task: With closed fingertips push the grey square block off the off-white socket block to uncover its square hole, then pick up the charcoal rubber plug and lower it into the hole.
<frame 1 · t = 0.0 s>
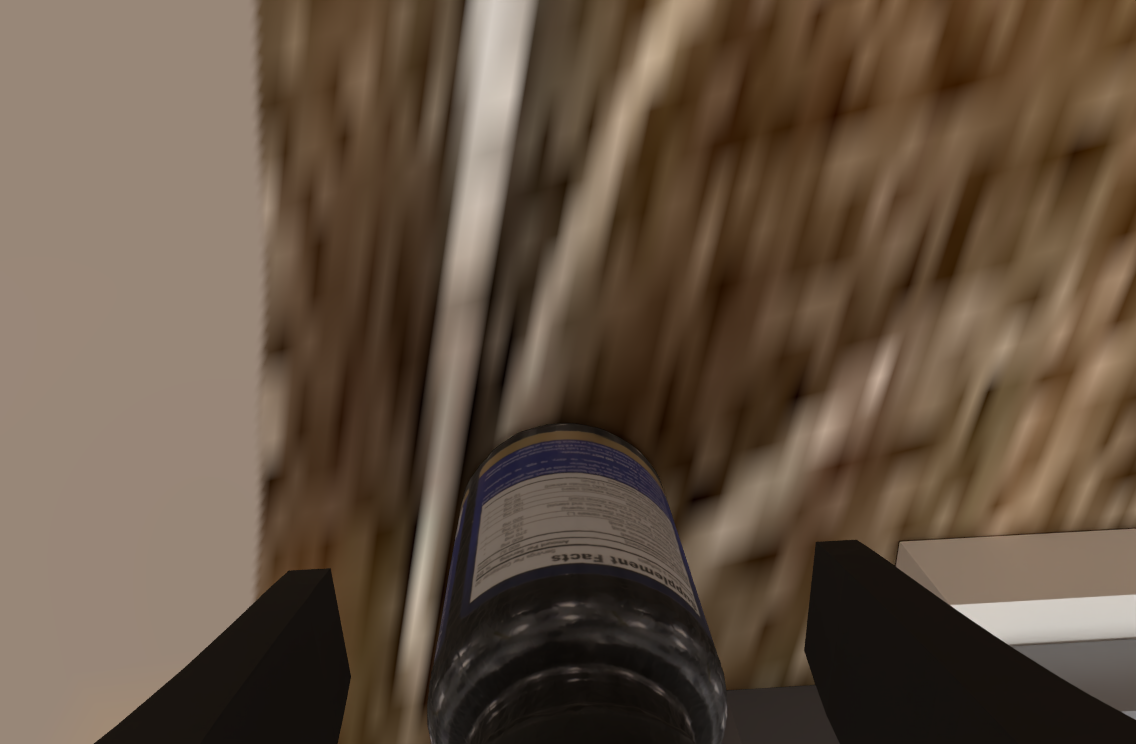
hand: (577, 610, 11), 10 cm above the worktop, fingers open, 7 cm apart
plug: (772, 725, 26), on the worktop
socket: (1013, 646, 25), on the worktop
pill bottle: (563, 503, 22), on the worktop
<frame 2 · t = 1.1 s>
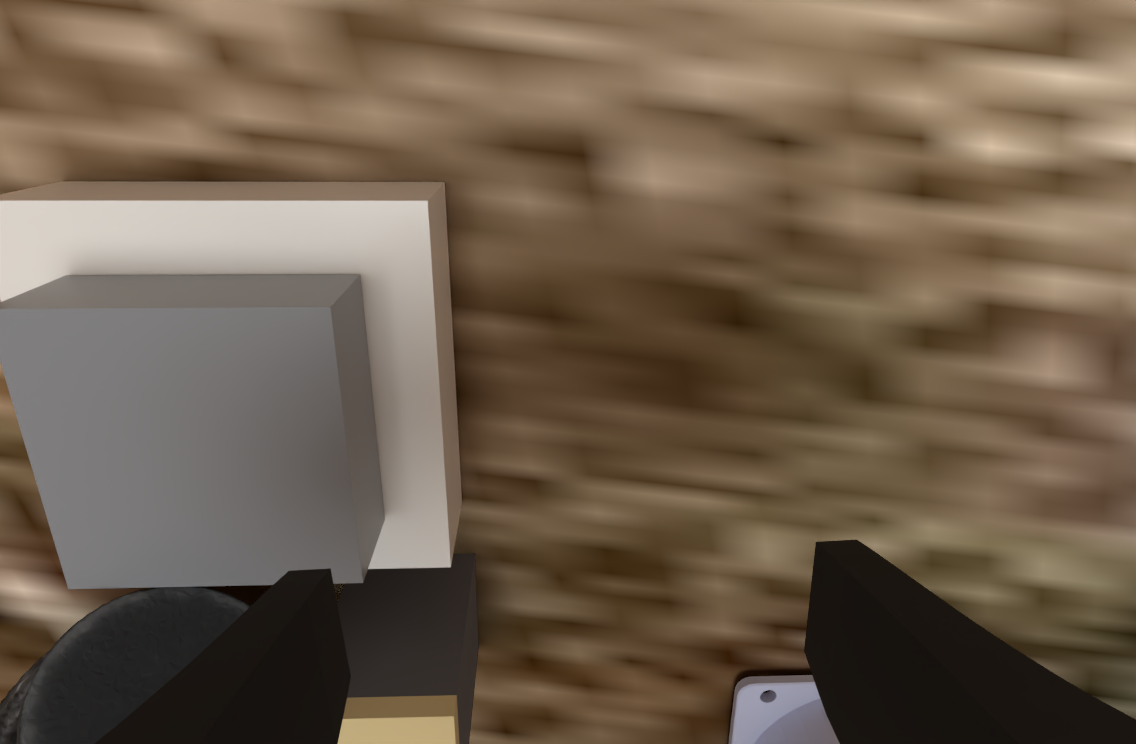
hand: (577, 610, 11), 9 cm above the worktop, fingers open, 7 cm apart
plug: (419, 602, 22), on the worktop
socket: (281, 357, 19), on the worktop
grey square block: (215, 430, 15), point 4 cm above the worktop, slide at 0.0 cm, touching pill bottle
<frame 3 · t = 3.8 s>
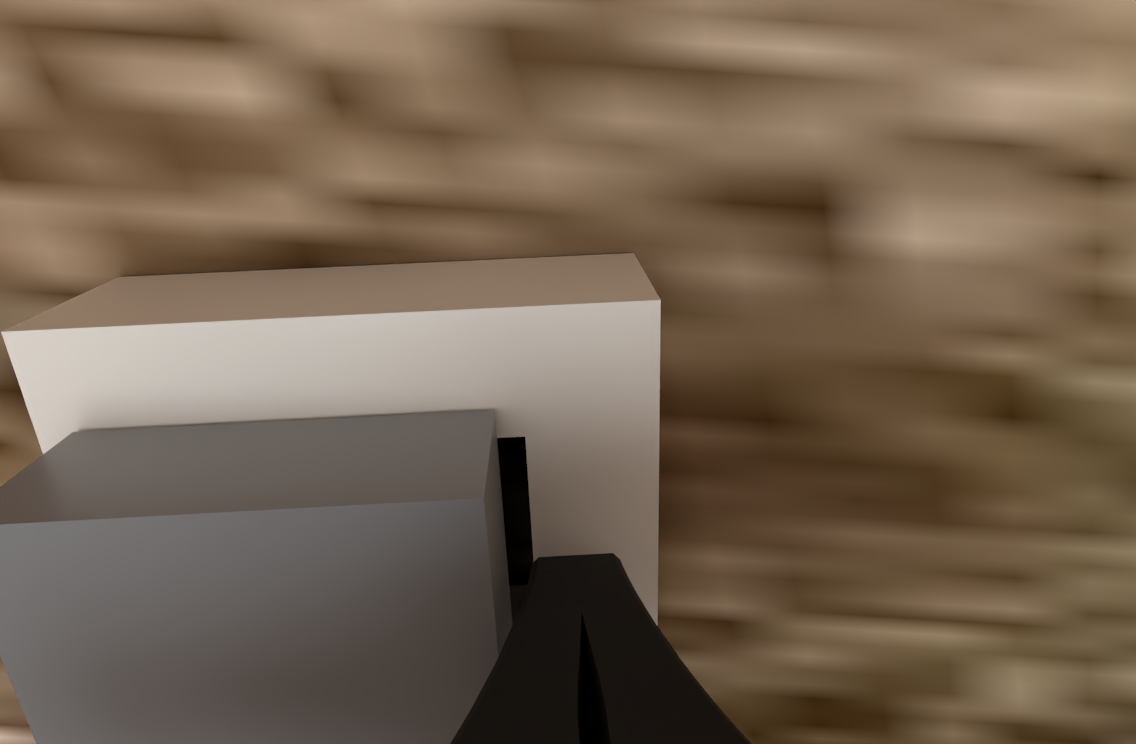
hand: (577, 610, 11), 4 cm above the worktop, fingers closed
socket: (408, 487, 14), on the worktop
grey square block: (296, 646, 10), point 4 cm above the worktop, slide at 0.9 cm, touching gripper
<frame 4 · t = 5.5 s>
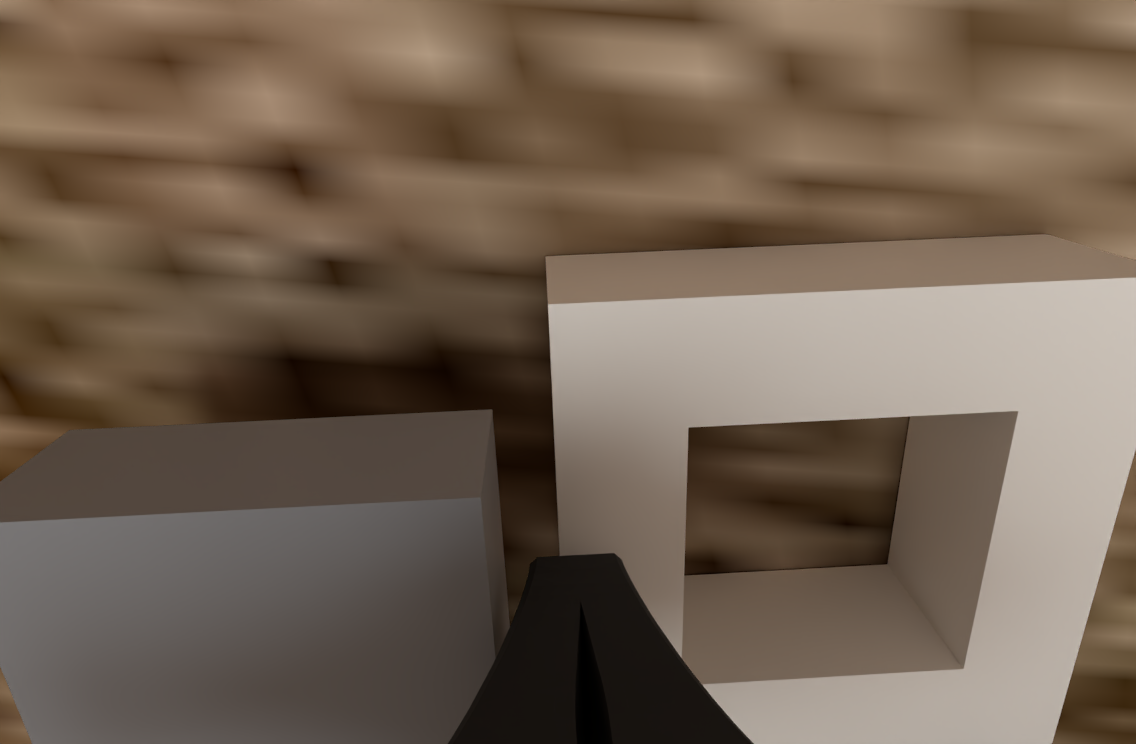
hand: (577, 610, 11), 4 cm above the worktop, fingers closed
socket: (780, 467, 15), on the worktop
grey square block: (293, 645, 10), point 4 cm above the worktop, slide at 8.4 cm, touching gripper, pill bottle
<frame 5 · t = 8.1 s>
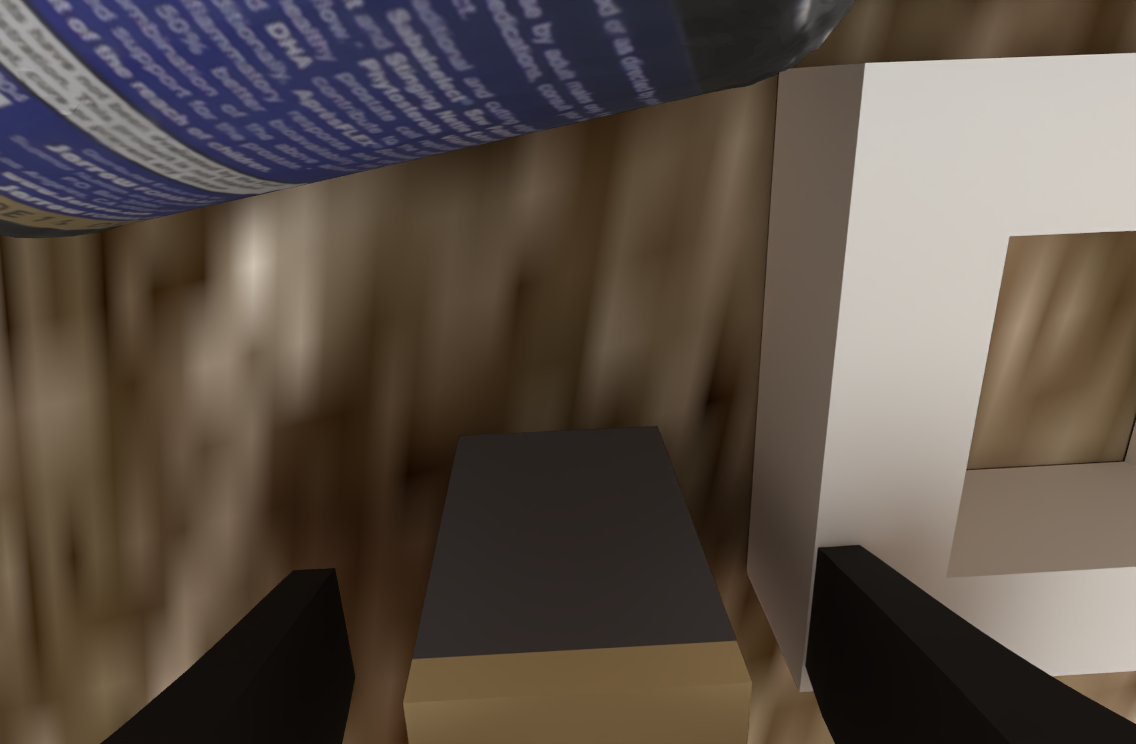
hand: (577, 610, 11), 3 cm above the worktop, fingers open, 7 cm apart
plug: (561, 515, 14), on the worktop
socket: (1018, 341, 13), on the worktop
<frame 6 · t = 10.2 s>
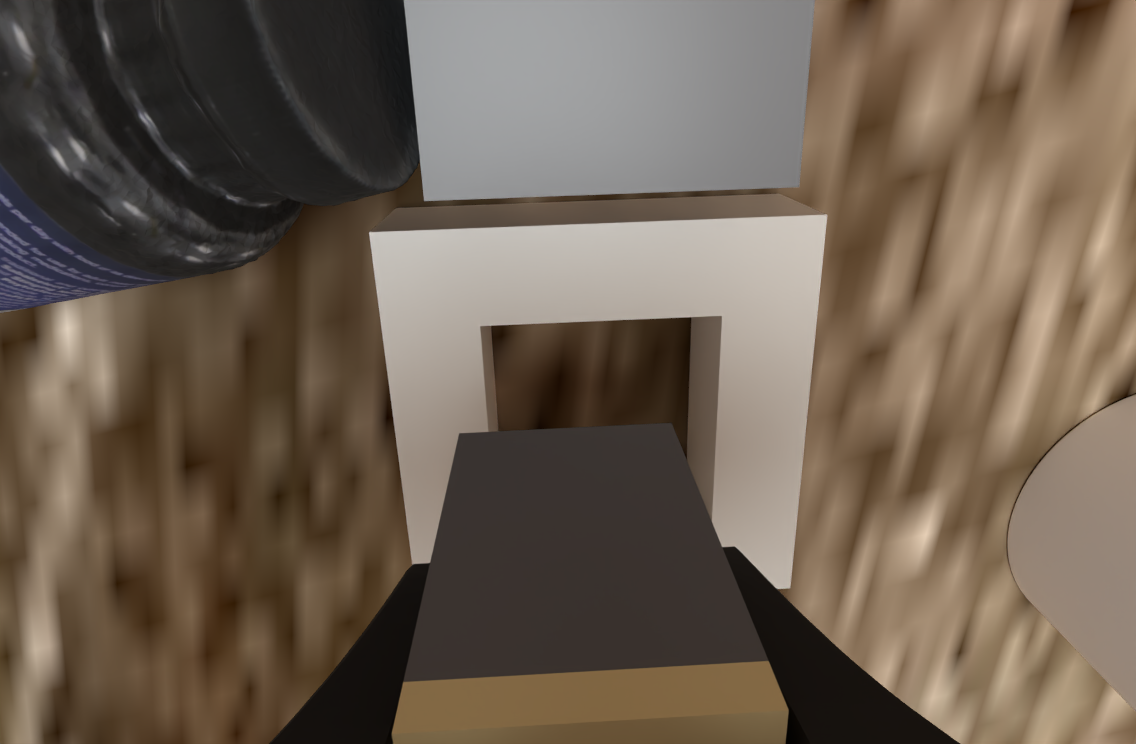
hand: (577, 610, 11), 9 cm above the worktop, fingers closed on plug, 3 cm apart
plug: (569, 519, 13), point 7 cm above the worktop, touching gripper
socket: (592, 378, 19), on the worktop
when the fingers open (4 cm above the worktop, at t = 11.6 s): plug drops 2 cm, resting in socket.
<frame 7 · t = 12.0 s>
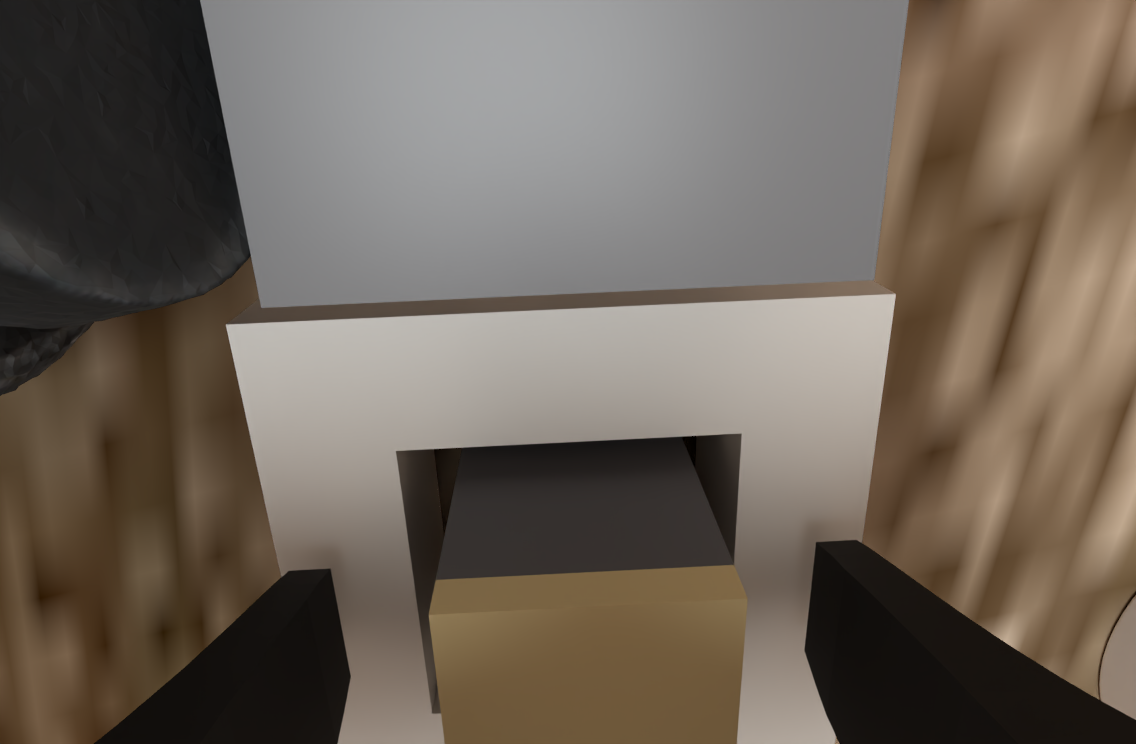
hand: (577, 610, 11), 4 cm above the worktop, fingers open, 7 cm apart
plug: (570, 473, 14), resting in socket
socket: (567, 485, 14), on the worktop
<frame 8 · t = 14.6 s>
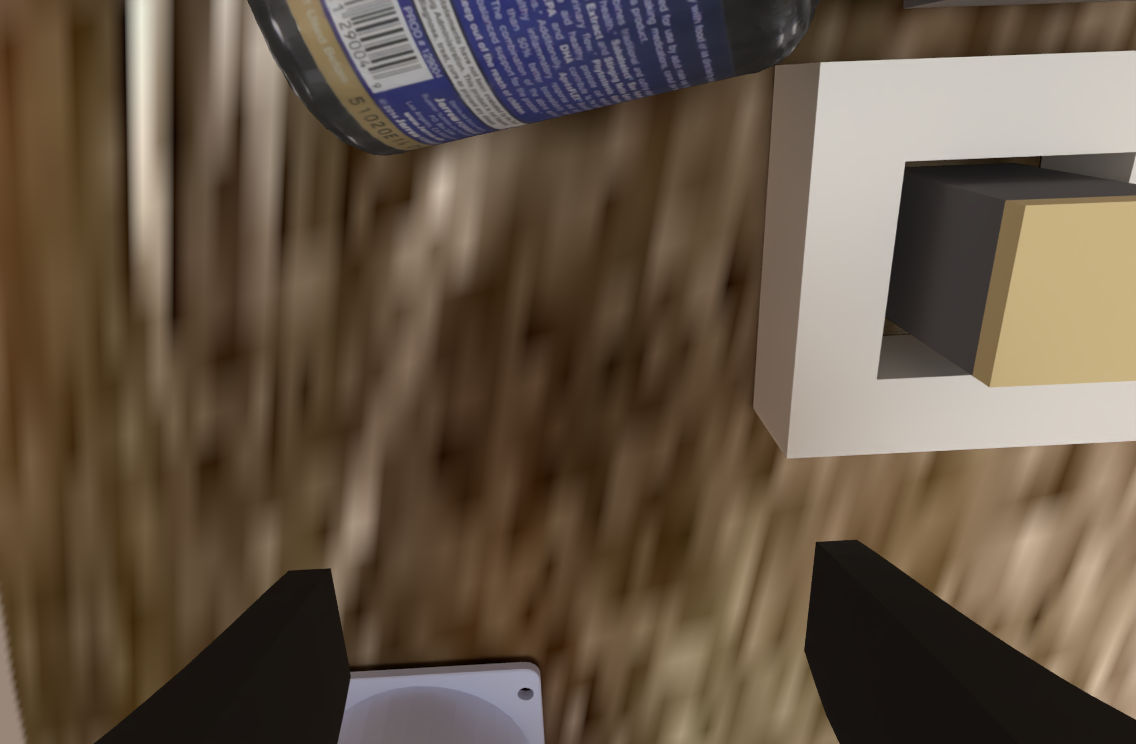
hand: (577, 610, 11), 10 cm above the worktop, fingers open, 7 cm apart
plug: (935, 234, 19), resting in socket
socket: (932, 244, 19), on the worktop
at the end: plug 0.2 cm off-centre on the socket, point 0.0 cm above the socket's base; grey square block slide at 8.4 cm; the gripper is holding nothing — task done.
